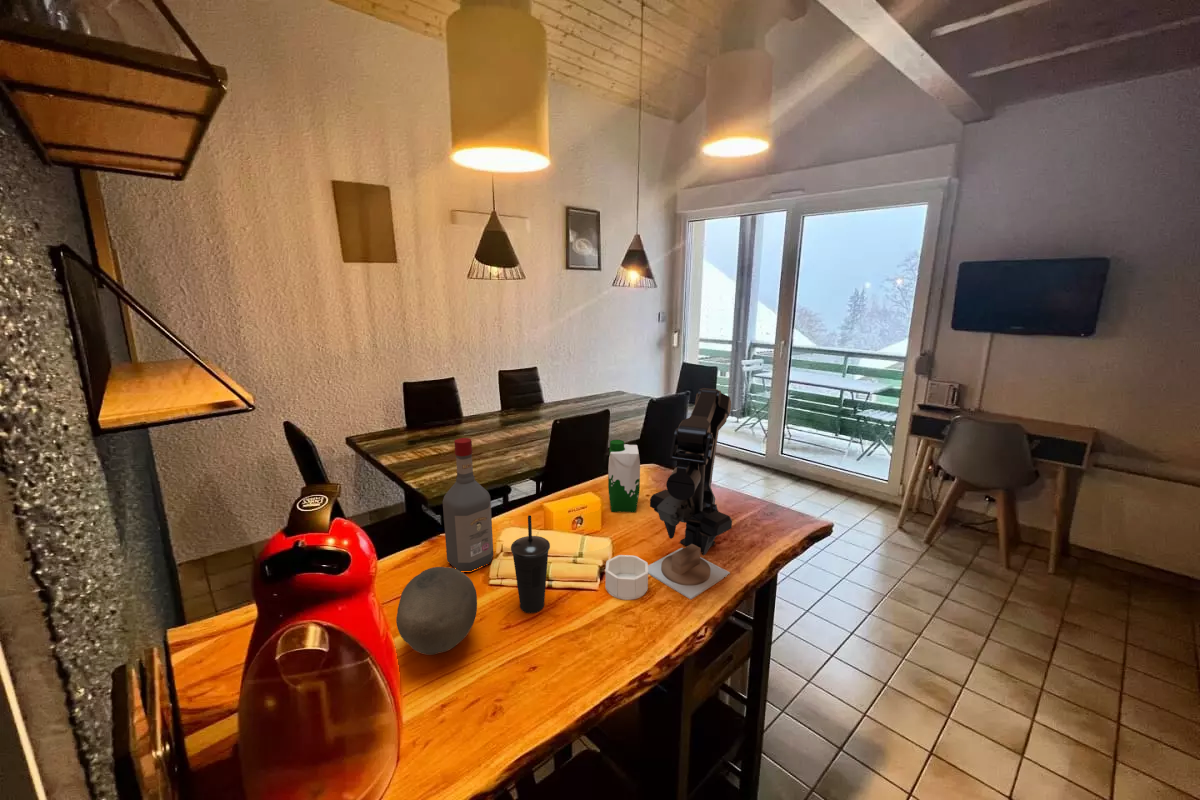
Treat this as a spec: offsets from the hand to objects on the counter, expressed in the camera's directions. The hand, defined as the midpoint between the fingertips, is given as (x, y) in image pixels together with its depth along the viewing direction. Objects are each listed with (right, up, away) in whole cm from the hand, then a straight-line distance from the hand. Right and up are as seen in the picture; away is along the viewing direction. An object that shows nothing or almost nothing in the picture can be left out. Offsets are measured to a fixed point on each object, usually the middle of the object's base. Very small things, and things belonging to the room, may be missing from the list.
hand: (687, 546), depth 110 cm
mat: (0, -6, +2) cm, 7 cm away
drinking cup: (-33, -9, -10) cm, 36 cm away
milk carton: (-13, +1, +34) cm, 36 cm away
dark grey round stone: (-48, -12, -21) cm, 54 cm away
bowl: (-14, -8, -3) cm, 16 cm away
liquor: (-50, -5, +6) cm, 51 cm away
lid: (0, -6, +2) cm, 6 cm away
